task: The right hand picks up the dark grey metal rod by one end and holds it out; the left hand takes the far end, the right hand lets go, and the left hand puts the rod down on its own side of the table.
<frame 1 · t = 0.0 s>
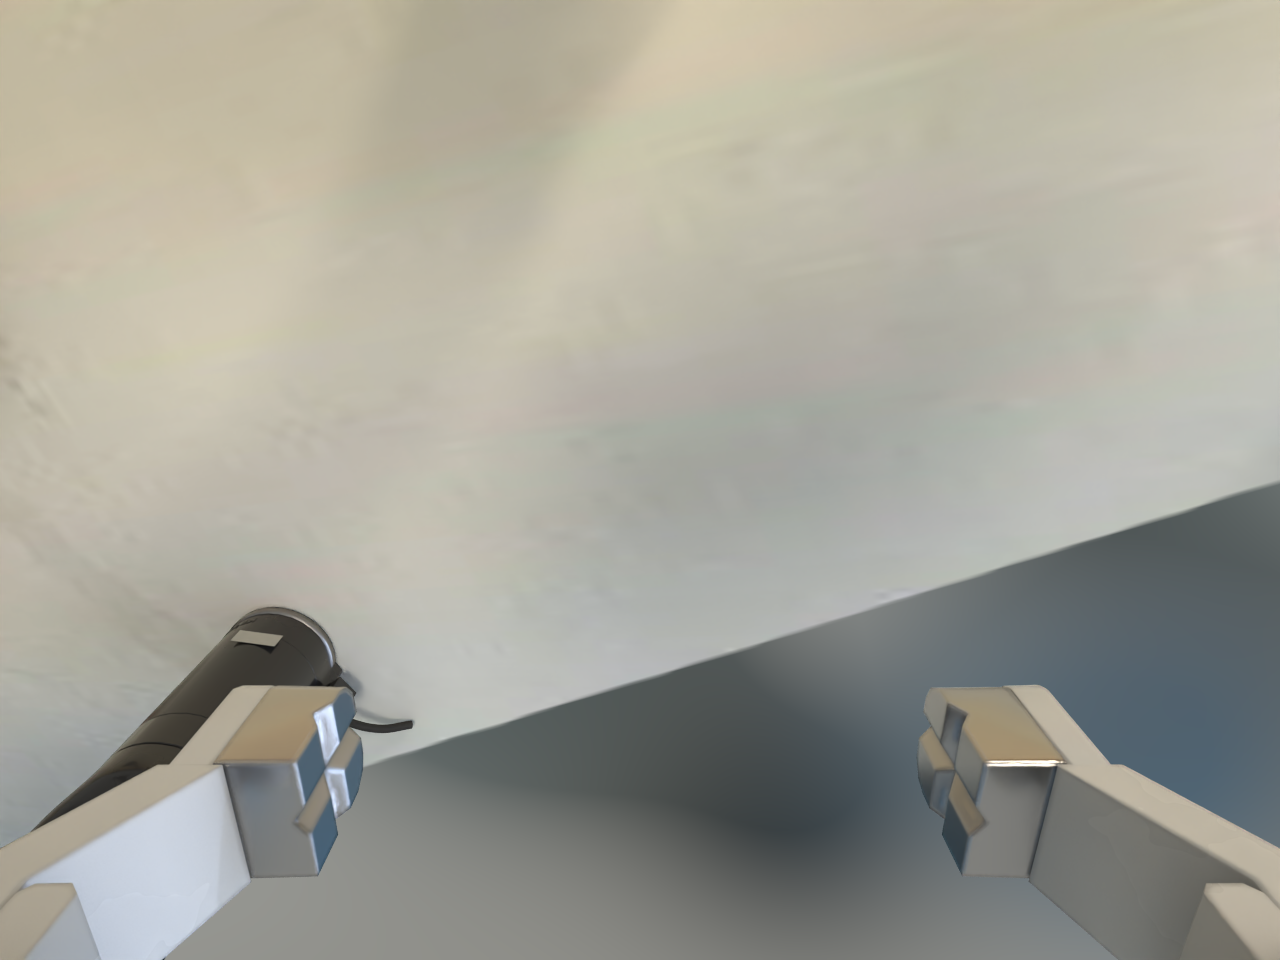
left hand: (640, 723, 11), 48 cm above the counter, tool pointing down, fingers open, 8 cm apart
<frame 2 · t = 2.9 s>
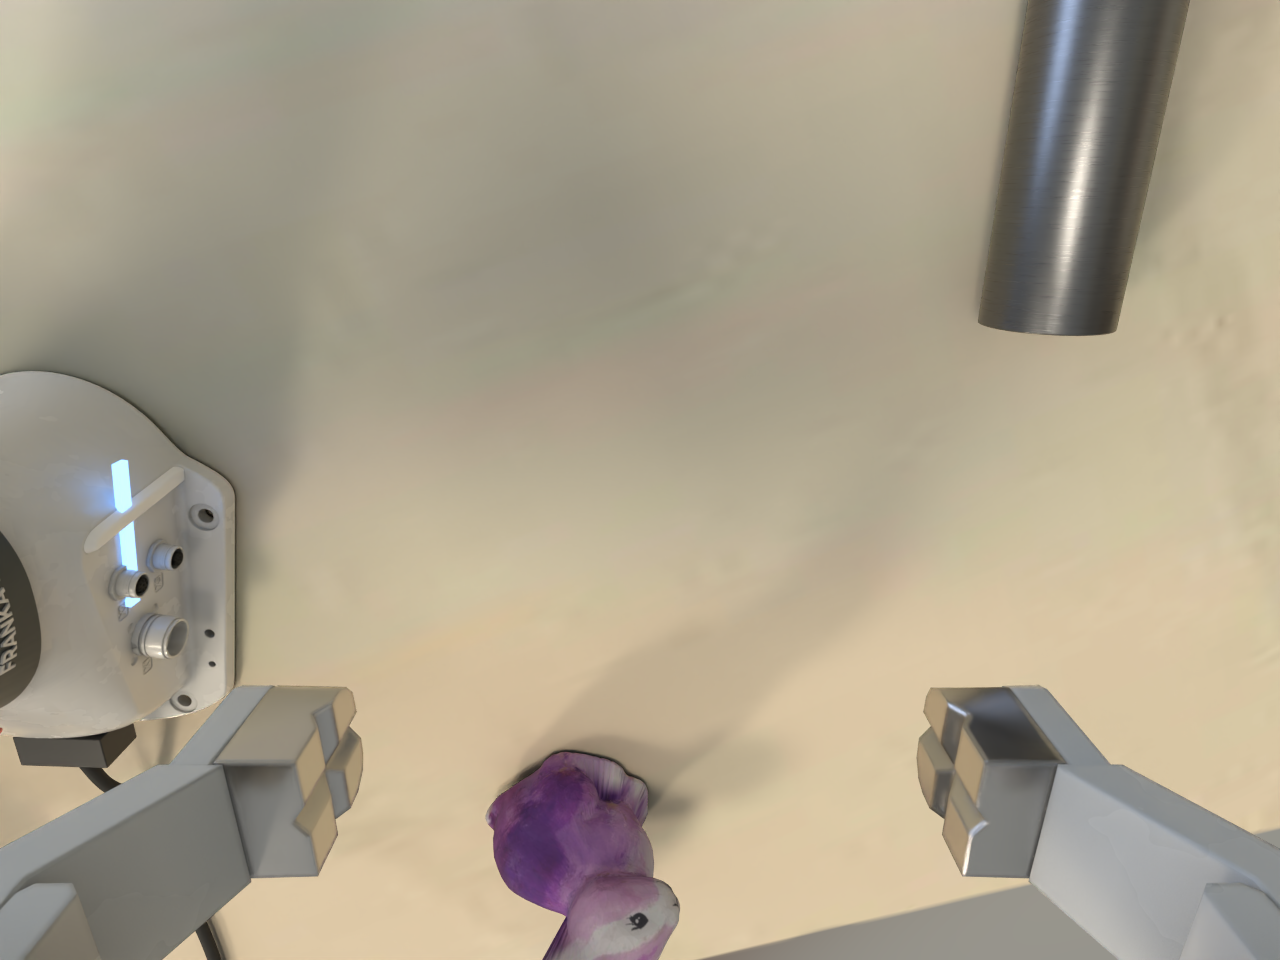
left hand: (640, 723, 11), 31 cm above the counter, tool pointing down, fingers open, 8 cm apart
rod: (1066, 21, 34), on the counter, touching right hand
figurine: (584, 791, 50), on the counter
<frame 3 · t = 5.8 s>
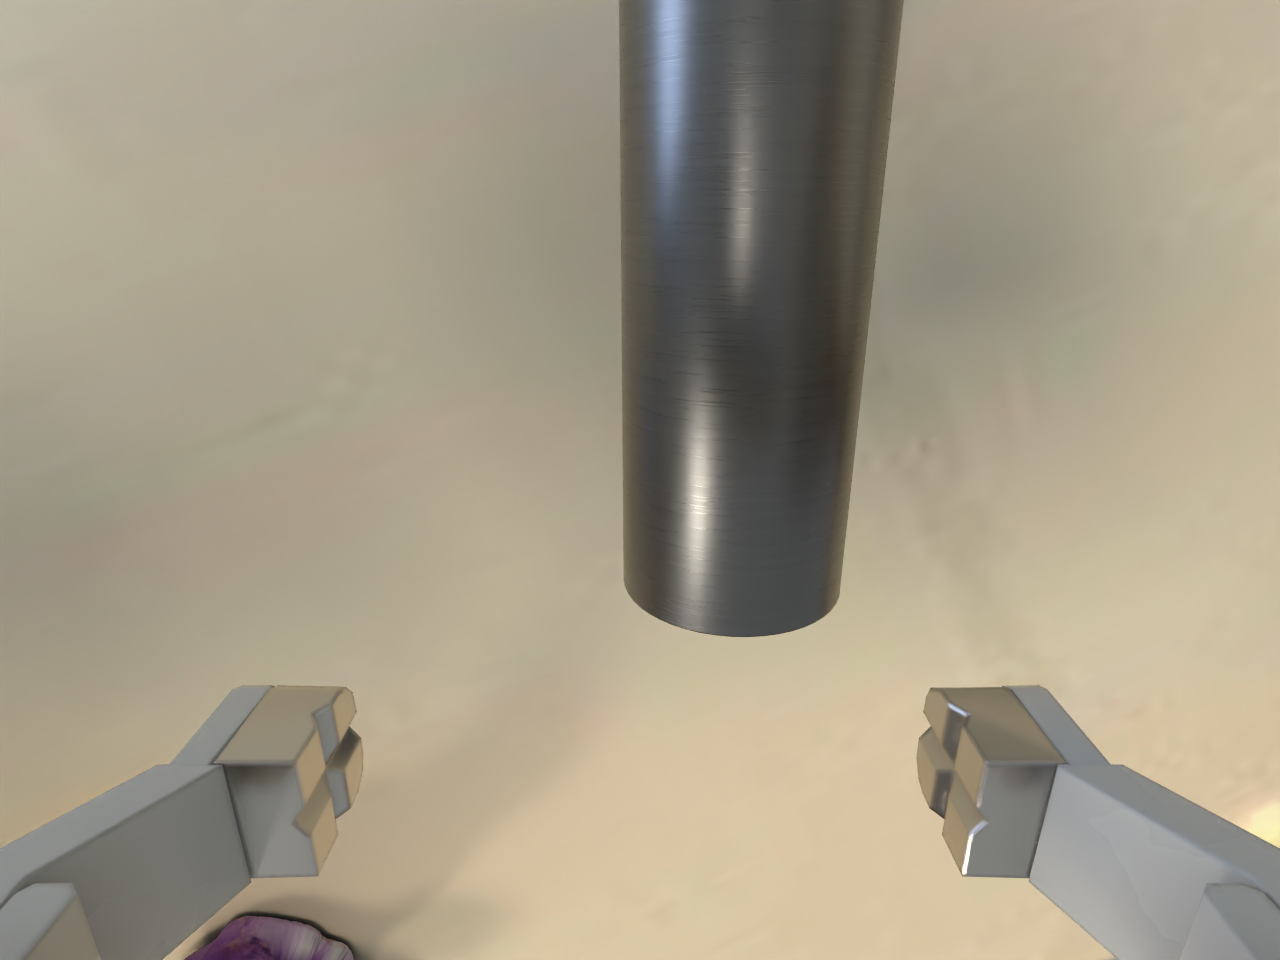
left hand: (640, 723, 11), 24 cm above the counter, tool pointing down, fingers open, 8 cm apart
rod: (735, 56, 19), point 11 cm above the counter, touching right hand
figurine: (282, 954, 44), on the counter
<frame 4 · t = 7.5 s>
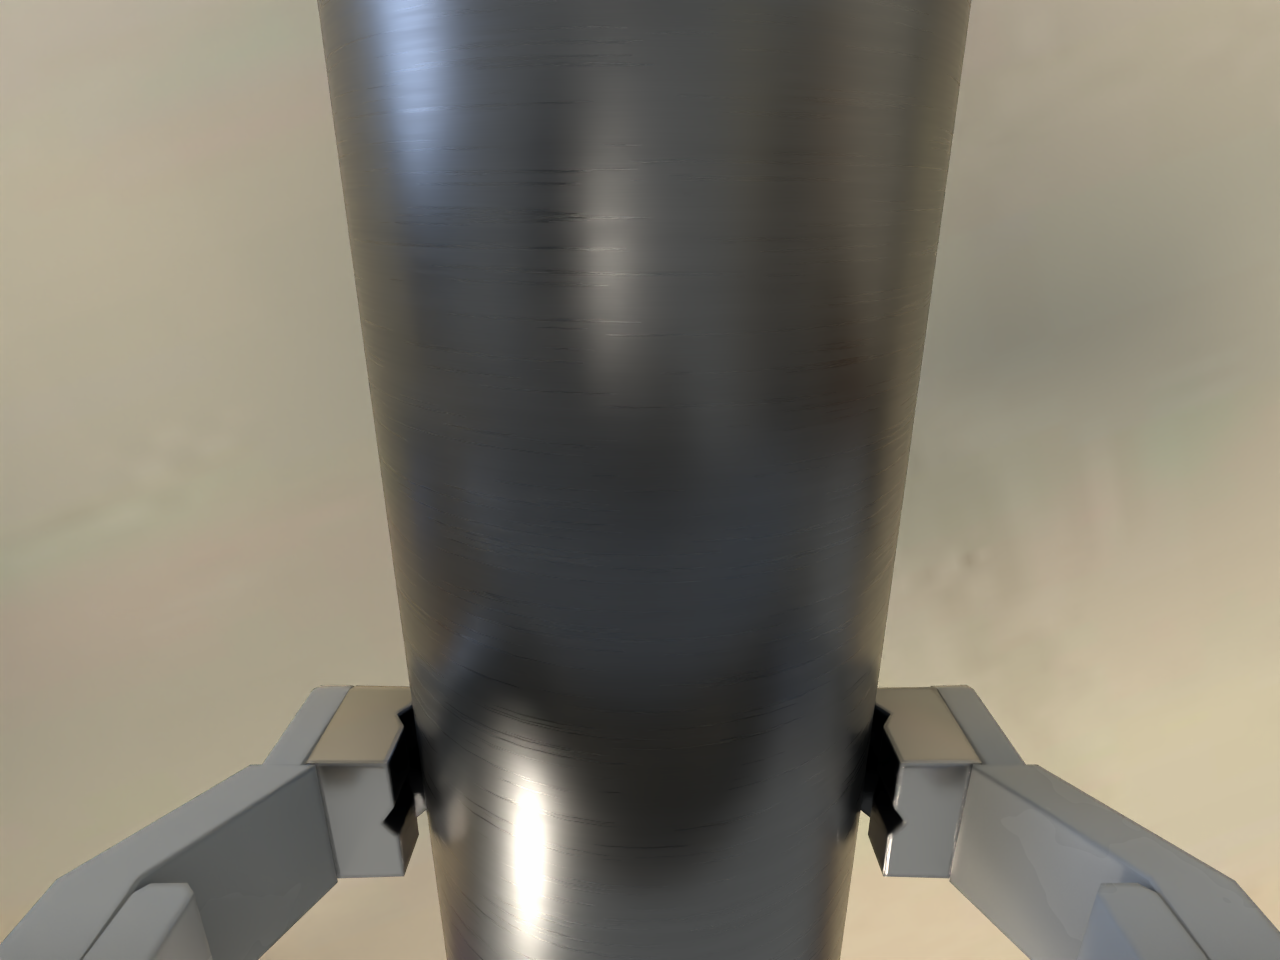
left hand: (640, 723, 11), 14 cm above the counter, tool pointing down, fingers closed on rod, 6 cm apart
when the right hand's fingers open (12 cm above the counter, at t = 8.6 s): rod moves 1 cm, held by the left hand.
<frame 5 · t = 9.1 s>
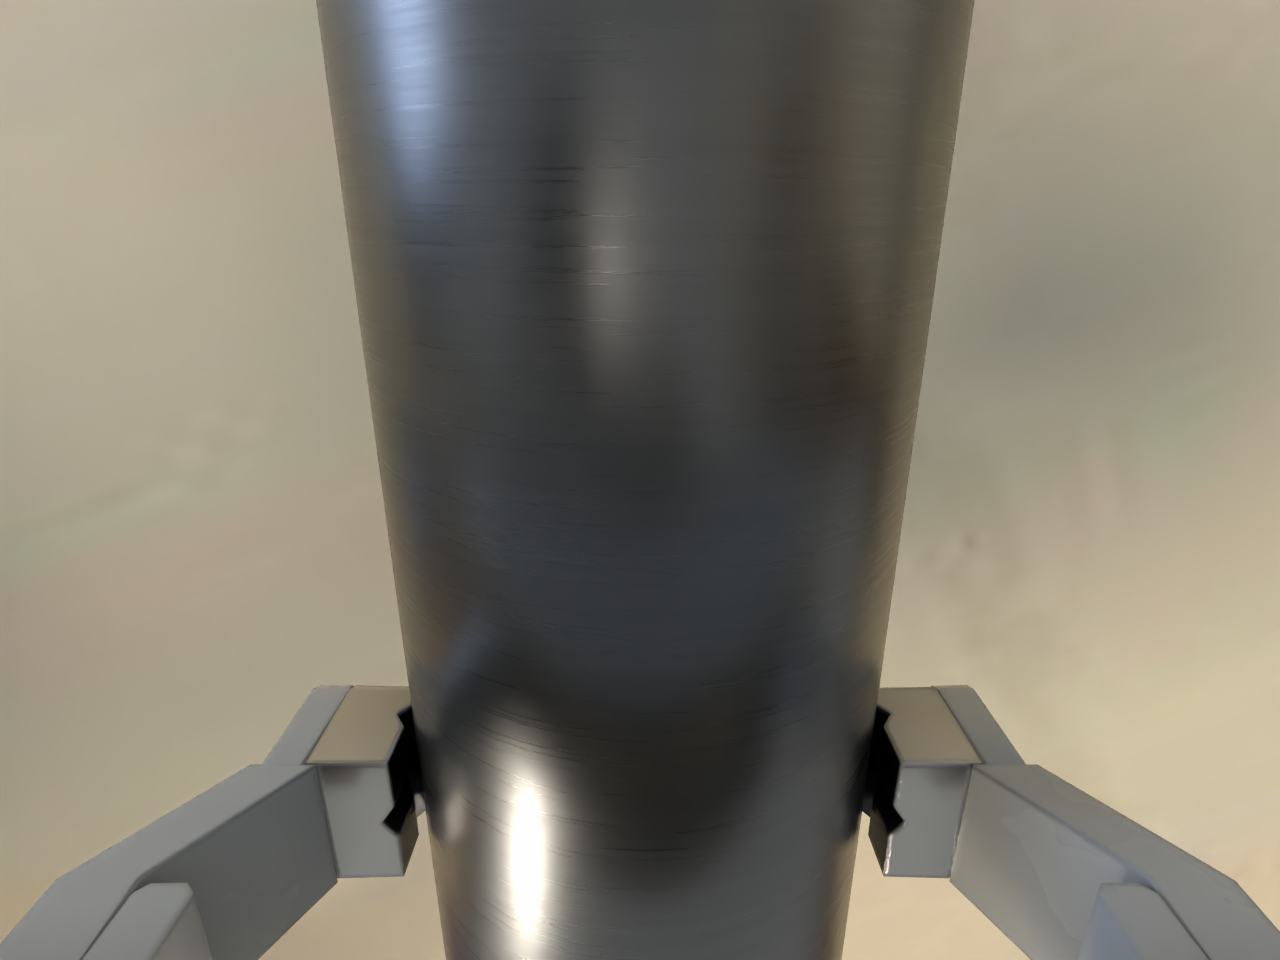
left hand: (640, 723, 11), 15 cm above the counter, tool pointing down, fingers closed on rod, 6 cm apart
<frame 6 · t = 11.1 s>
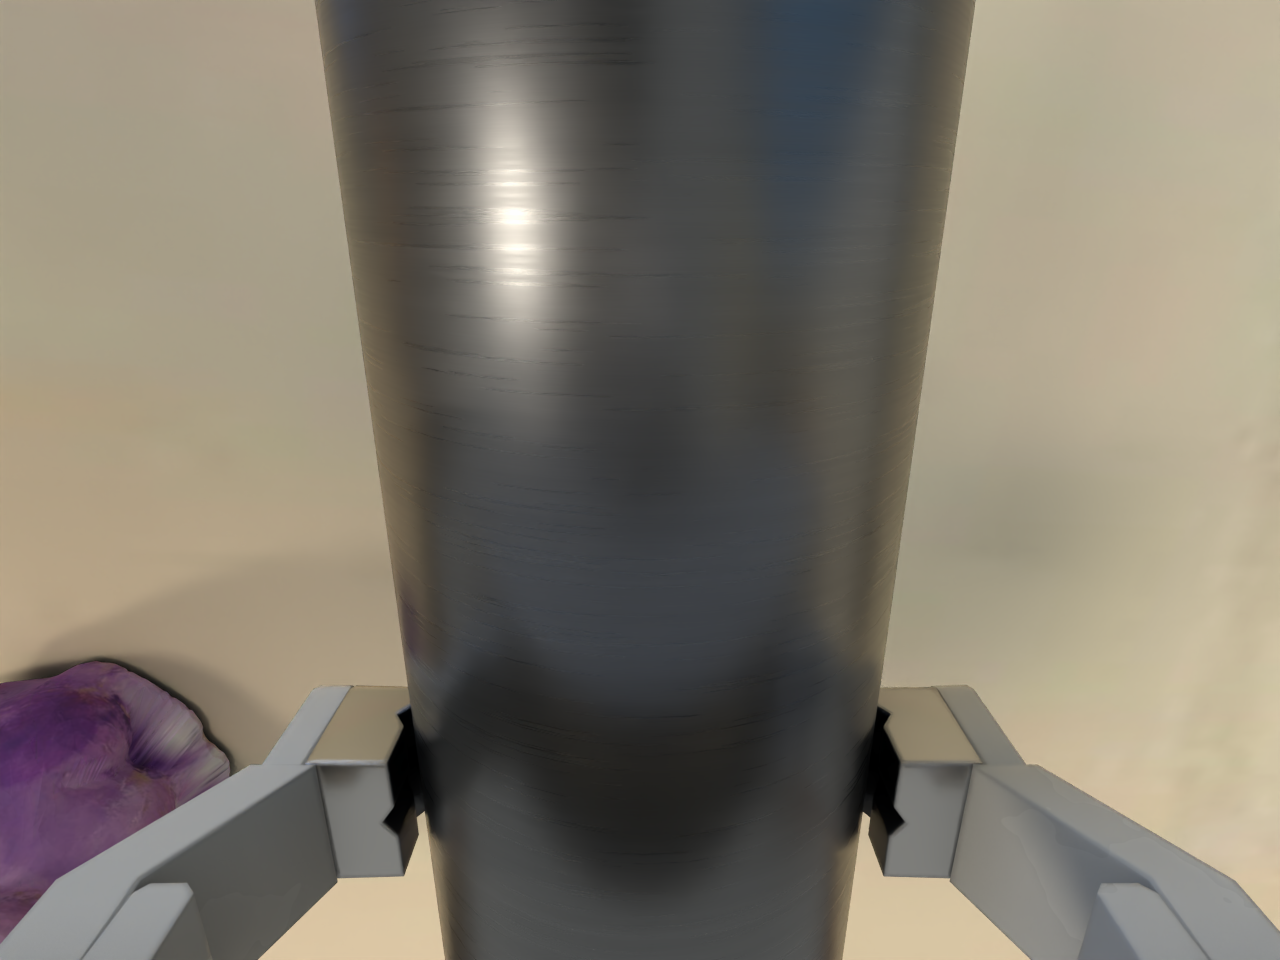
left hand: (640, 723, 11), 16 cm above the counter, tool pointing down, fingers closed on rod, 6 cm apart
figurine: (130, 736, 31), on the counter
when the left hand's fingers open (4 cm above the counter, at t = 12.9 s): rod stays where it is, on the counter.
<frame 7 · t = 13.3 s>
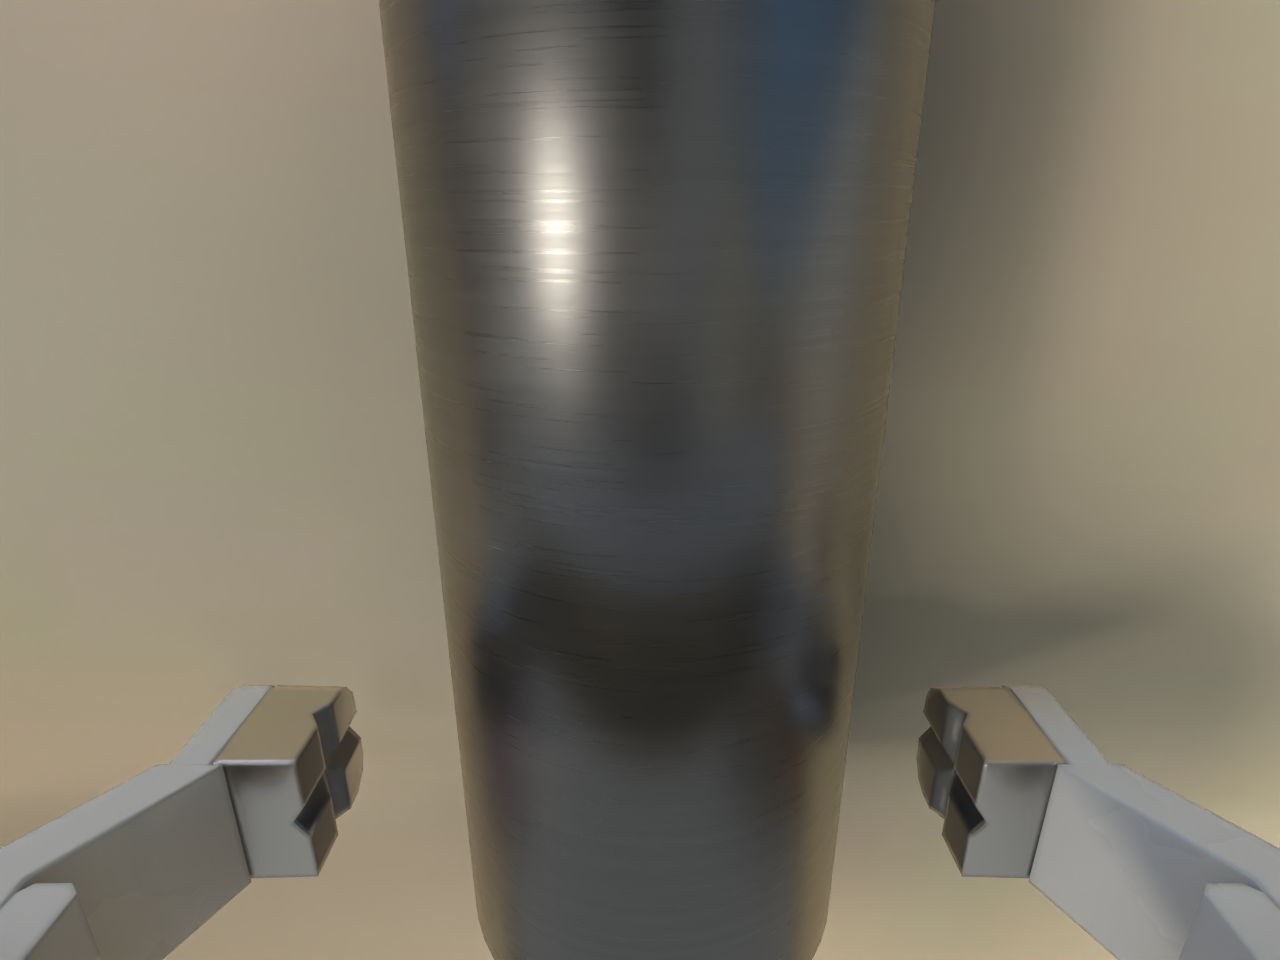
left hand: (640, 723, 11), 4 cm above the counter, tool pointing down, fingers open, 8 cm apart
rod: (653, 9, 11), on the counter
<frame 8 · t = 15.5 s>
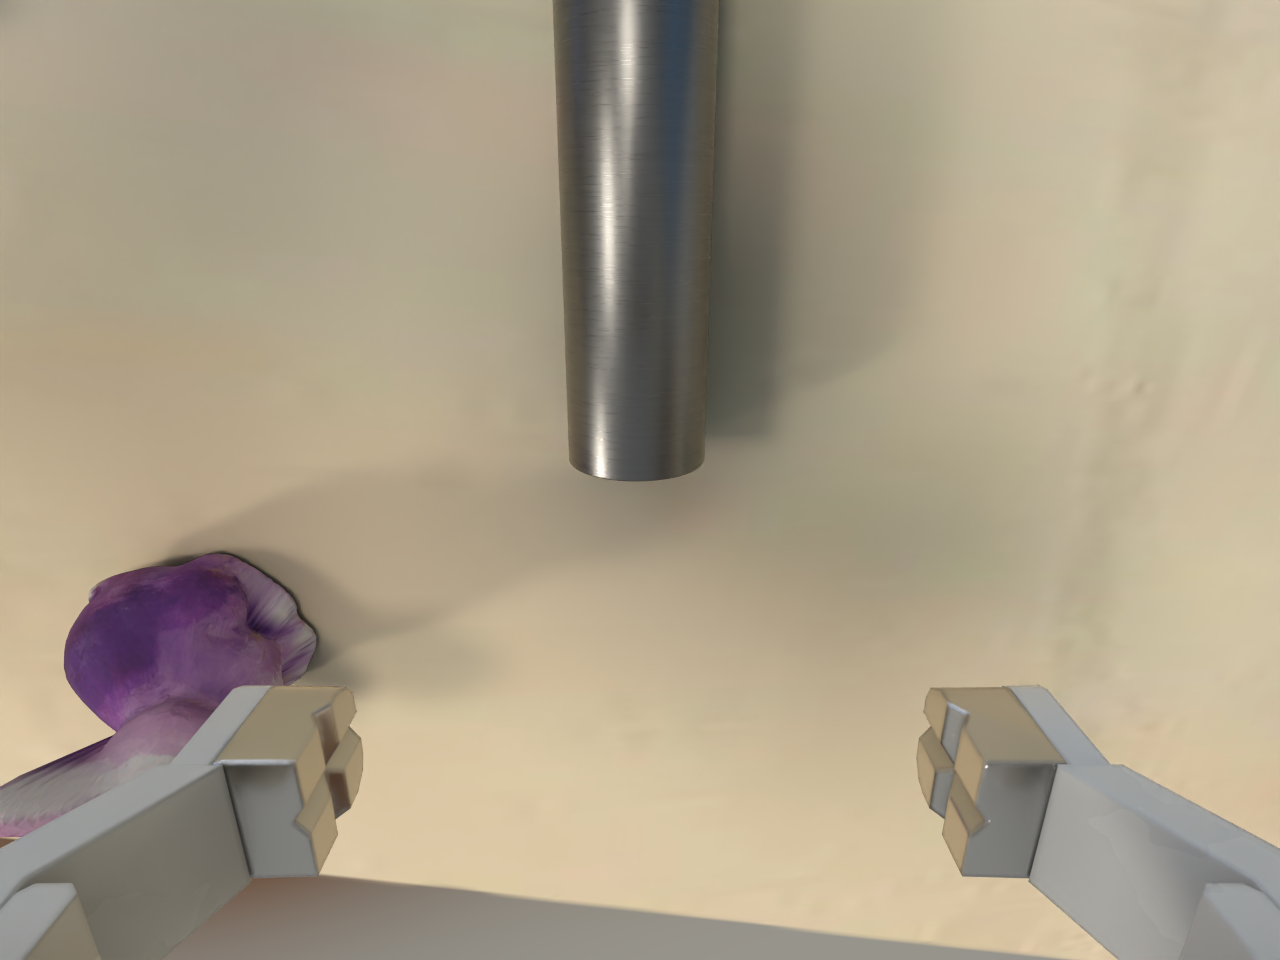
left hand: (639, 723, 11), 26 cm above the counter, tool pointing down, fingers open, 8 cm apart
rod: (636, 131, 31), on the counter
figurine: (239, 616, 40), on the counter
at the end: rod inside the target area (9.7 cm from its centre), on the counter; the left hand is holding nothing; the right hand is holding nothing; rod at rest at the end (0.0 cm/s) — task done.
